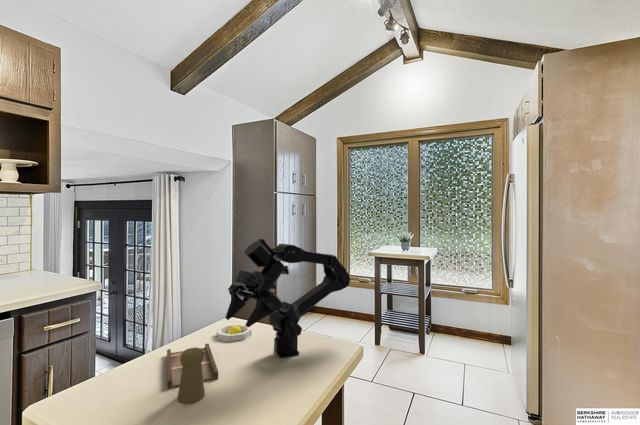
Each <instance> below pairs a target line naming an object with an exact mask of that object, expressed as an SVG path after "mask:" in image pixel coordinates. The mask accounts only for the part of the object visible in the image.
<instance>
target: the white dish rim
mask: <svg viewBox="0 0 640 425" xmlns="http://www.w3.org/2000/svg"><path fill="white" fill-rule="evenodd" d="M235 325H236V326H239V327H240V333H238V334H225V333H226V332H227V331H228V330H230V329H231V328H232V327H233V326H235ZM252 330H253V329H252V327H251V326H250V327H247V326H246V324H243V323H232V324H227V325H223V326H221V327H219V328H217V329H216V338H217V339H218V340H219V341H223V342H229V343H230V342H231V343H232V342H238V341H239V342H240V341H244V340H247V338H249V337H250V336H252V335H253V334H252V332H253V331H252Z"/></svg>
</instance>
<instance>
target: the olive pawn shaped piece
mask: <svg viewBox="0 0 640 425" xmlns="http://www.w3.org/2000/svg"><path fill="white" fill-rule="evenodd" d="M182 351H183V352H182V354H181V357H180V362H181V364H182V365H183V367H182V373H181V379H180V386H179V387H178V392H177V393H178V394H177V400H176V401H177V403H179V404H182V405H193V404H196V403H199V402H200V401H201V400H203V399H204V398H205V396H206V394H205V393H206V391H205V385H204V383H205V382H203V373H202V365H201V363H202V361H203V359H204V352H203V350H202V349H200V347H189V348H186V349H184V350H182Z"/></svg>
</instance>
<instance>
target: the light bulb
mask: <svg viewBox="0 0 640 425" xmlns="http://www.w3.org/2000/svg"><path fill="white" fill-rule="evenodd" d="M238 333H241V331H240V327H239V326H236V325H235V326H233V327H232V328H231V329H230V330H228V331H227V332H225V334H238Z"/></svg>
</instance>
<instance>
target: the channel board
mask: <svg viewBox="0 0 640 425" xmlns="http://www.w3.org/2000/svg"><path fill="white" fill-rule="evenodd" d="M210 347H211V346H210V344H209V343H205V344H204V347H201V348H200V347H199V348H200V349H202V350H203V352H204V359H203V361H202V363H201V365H202V373H203V382H204V383H206V382H209V381H215V380H218V379H219V370H218V368H217V367H218V366H217V364H216V361H215V358H214V354H213V353H212V350H211V348H210ZM183 351H184V350H181V351H175V352H172V349H170V348H169V349H166V377H167V378H166V379H167V381H166V382H167V384H166V385H167V388H166V389H167V390H169V389H175V388H179V386H180V379H181V373H182V367H183V365H182V364H181V362H180V357H181V354H182V352H183Z"/></svg>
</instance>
